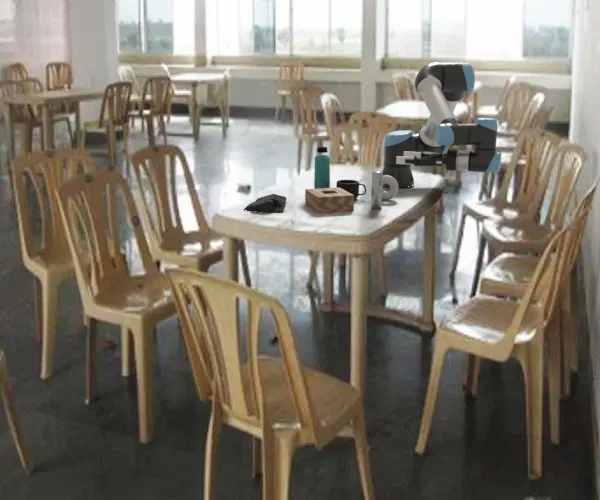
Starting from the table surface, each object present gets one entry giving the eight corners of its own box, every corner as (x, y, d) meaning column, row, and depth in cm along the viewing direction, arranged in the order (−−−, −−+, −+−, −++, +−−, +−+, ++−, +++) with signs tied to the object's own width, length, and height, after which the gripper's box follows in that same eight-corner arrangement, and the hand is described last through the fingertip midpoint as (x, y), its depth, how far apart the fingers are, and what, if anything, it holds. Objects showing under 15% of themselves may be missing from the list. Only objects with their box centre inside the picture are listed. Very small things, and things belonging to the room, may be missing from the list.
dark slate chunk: (292, 202, 332) (292, 191, 331) (282, 215, 311) (282, 202, 310) (254, 201, 335) (254, 189, 334) (241, 213, 314) (241, 200, 313)
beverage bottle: (328, 197, 341) (329, 148, 336) (312, 196, 342) (312, 147, 337) (331, 194, 347) (332, 145, 342) (315, 193, 348) (315, 145, 343)
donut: (372, 199, 337) (373, 174, 335) (375, 197, 341) (376, 173, 338) (396, 201, 334) (397, 176, 331) (399, 200, 337) (400, 175, 334)
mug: (334, 200, 335) (334, 183, 333) (338, 196, 343) (338, 179, 341) (364, 202, 333) (365, 184, 331) (367, 197, 341) (367, 180, 339)
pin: (379, 206, 324) (380, 171, 320) (383, 209, 320) (384, 172, 316) (369, 207, 323) (370, 171, 319) (373, 209, 319) (374, 173, 315)
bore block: (339, 202, 331) (339, 187, 330) (353, 210, 317) (354, 195, 315) (305, 204, 327) (305, 189, 326) (318, 213, 312) (318, 197, 311)
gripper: (452, 176, 297) (393, 172, 303) (461, 165, 320) (406, 162, 326) (453, 154, 295) (393, 151, 301) (462, 145, 318) (406, 143, 324)
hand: (400, 157), depth 314 cm, fingers open, 13 cm apart
